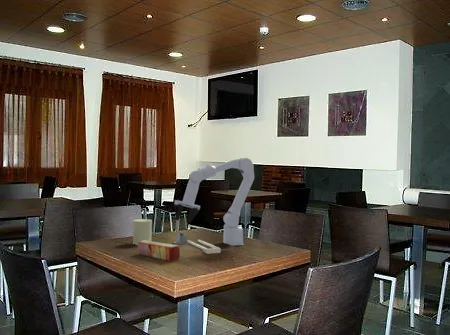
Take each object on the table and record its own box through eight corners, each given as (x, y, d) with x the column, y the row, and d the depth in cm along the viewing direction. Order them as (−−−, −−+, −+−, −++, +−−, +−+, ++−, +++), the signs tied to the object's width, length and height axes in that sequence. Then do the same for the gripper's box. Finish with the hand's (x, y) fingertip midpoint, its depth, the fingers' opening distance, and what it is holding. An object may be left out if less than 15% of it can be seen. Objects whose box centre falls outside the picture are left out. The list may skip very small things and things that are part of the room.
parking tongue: (185, 243, 215) (185, 241, 215) (191, 245, 209) (191, 243, 209) (172, 243, 212) (172, 241, 212) (177, 246, 206) (177, 244, 206)
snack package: (135, 255, 185) (136, 239, 185) (147, 253, 191) (148, 237, 190) (169, 263, 172) (169, 246, 172) (181, 260, 177) (181, 244, 177)
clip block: (183, 241, 214) (183, 232, 214) (187, 243, 209) (187, 233, 209) (176, 242, 212) (176, 232, 212) (179, 243, 207) (180, 234, 207)
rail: (198, 243, 215) (199, 239, 215) (220, 252, 194) (220, 248, 194) (186, 244, 212) (186, 240, 212) (207, 253, 190) (207, 249, 190)
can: (147, 245, 206) (147, 220, 206) (129, 244, 208) (130, 220, 208) (154, 242, 215) (154, 218, 215) (137, 241, 217) (137, 217, 217)
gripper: (197, 195, 218) (189, 221, 217) (174, 189, 208) (166, 216, 208) (205, 198, 212) (197, 225, 212) (182, 192, 203) (174, 220, 202)
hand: (182, 221), depth 209 cm, fingers open, 7 cm apart
